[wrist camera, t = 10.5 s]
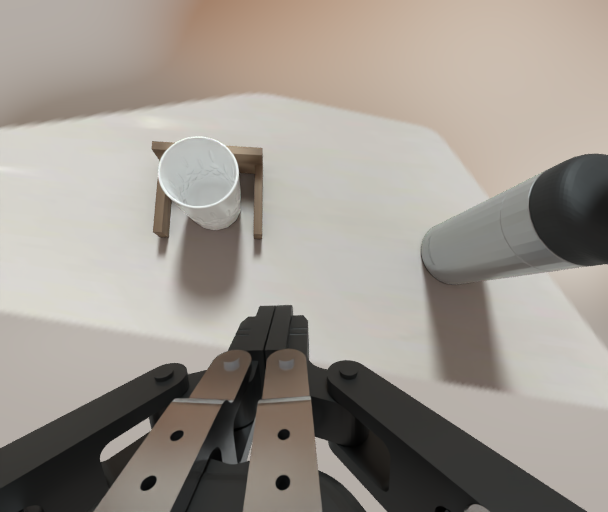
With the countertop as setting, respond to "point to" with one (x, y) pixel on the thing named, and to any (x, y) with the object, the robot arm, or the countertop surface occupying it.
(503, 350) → the countertop surface
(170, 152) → the white cup
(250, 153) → the walnut bay
